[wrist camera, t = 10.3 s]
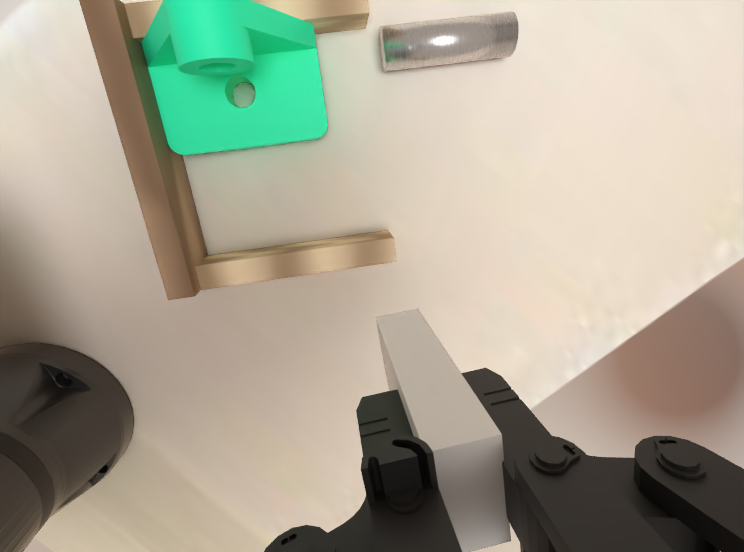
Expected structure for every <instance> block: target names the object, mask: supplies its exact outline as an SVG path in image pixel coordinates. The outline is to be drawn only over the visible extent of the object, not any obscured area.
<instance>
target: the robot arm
mask: <svg viewBox="0 0 744 552" xmlns="http://www.w3.org/2000/svg"><path fill="white" fill-rule="evenodd" d="M376 322H377V327H378V333H379V338H380V344H381V349H382V354H383V360H384V365H385V371H386V376H387V382H388V386H389V390H390V391H388V392H383V393H379V394H375V395H370V396H366V397H362V399H361V401H360V403H359V406H358V408H357V410H356V411H357V418H358V424H359V431H360V437H361V444H362V451H363V458H362V464H361V472H362V476H363V481H364V485H365V490H366V498H365V501H364V503H363V504H362V506H361V508H360V509H359V510H358V512H357V513H356V514H355V515H354V516H353V517H352V518H351V519H349V520H348V521H346V522H345V523H344V524H342V525H341V526H339V527H337V528H335V529H334V530H332V531H330V532H329V533H327V532H325V531H324V530H323V529H321V528H320V527H315V526H309V525H304V526H300V527H295V528H292V529H290V530H288V531H286V532H284V533H283V534H281V535H279V536H278V537H277V538H276V539H275V540H274V541H273V542H272V543H271V544H270V545H269V546H268V547H267V548H266V549H265V551H264V552H471V551H475V550H479V549H482V548H486V547H490V546H493V545H498V544H501V543H505V542H508V541H511V536H510V526H509V525H510V524H511V526H512V528H513V530H514V531H515V533H516V535H517V537H518V539H519V541H520V546H521V552H720V551H721V552H744V469H743V468H741V467H739V466H737V465H735V464H733V463H731V462H730V461H728V460H726V459H724V458H723V457H721V456H719V455H717V454H715V453H714V452H712V451H710V450H708V449H706V448H705V447H702V446H700V445H698V444H695V443H693V442H691V441H689V440H685V439H681V438H676V437H672V436H653V437H649V438H646V439H643V440H642V441H640V442H639V443H638V444H637V445H636V447H635V458H613V457H612V458H611V457H608V458H607V457H595V456H588V455H586V454H585V453H584V452H583V451H582V450H581V449H579V448H578V447H577V446H576V445H575V444H573V443H571V442H569V441H567V440H565V439H562V438H560V437H554V436H551V435H550V433H549V432H548V431H547V430H546V429H545V427H544V426H543V425H542V424H541V423H540V421H539V420H538V419H537V418H536V417H535V415H534V414H533V413H532V412H531V411H530V410H529V408H528V407H527V406H526V405H525V404H524V402H523V401H522V400H520V399H519V397H518V395H517V394H516V393H515V392H514V391H513V390H511V387H510V386H509V385H508V384H507V382H506V381H505V380H504V379H503V378H502V376H500V375H498V374H496V373H495V372H493V371H491V370H489V369H487V368H483V369H479V370H474V371H470V372H465V373H461V372H460V371H459V369H458V368H457V366H456V365H455V363H454V362H453V360H452V359H451V357H450V356H449V354H448V353H447V351H446V350H445V348H444V347H443V345H442V344H441V342H440V341H439V339H438V338H437V336H436V335H435V333H434V332H433V330H432V329H431V327H430V326H429V324H428V323H427V321H426V320H425V318H424V317H423V315H422V314H421V312H420V311H419V309H413V310H409V311H404V312H399V313H395V314H390V315H385V316H380V317H376ZM132 432H133V413H132V408H131V405H130V402H129V400H128V397H127V395H126V393H125V392H124V390H123V388H122V387H121V386H120V384H119V383H118V382H117V380H116V379H115V378H114V377H113V376H112V375H111V374H110V373H109V372H108V371H107V370H105V369H104V368H103V367H102V366H100V365H99V364H97V363H96V362H94V361H93V360H91V359H89V358H88V357H86V356H84V355H82V354H79V353H77V352H75V351H72V350H69V349H66V348H62V347H59V346H54V345H47V344H33V343H30V344H17V345H12V346H7V347H4V348H1V349H0V552H23V551H24V549H25V548H26V547H27V546H28V544H29V543H30V542H31V540H32V539H33V538H34V536H35V535H36V534H37V532H38V531H39V530H40V529H41V527H42V526H43V525H44V524H45V522H46V521H47V520H48V519H49V518H50V517H51V516H52V515H54V514H55V513H57V512H58V511H59V510H61V509H62V508H63V507H65V506H66V505H68V504H69V503H70V502H72V501H73V500H74V499H76V498H77V497H78V496H80V495H81V494H83V493H84V492H85V491H87V490H88V489H90V488H91V487H92V486H94V485H95V484H96V483H98V482H99V481H100V480H101V479H103V478H104V477H105V476H106V475H107V474H108V473H109V472H110V471H111V469H112V468H113V467H114V465H115V464H116V463H117V461H118V460H119V458H120V457H121V456H122V454H123V453H124V451H125V450H126V448H127V447H128V444H129V442H130V440H131V436H132ZM509 522H510V524H509Z"/></svg>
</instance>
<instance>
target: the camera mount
mask: <svg viewBox="0 0 744 552" xmlns="http://www.w3.org/2000/svg"><path fill="white" fill-rule="evenodd" d="M142 47H143V51H144V54H145V58H146V62H147V66H148V70H149V73H150V77H151V81H152V85H153V89H154V93H155V96H156V100H157V104H158V108H159V112H160V115H161V119H162V123H163V127H164V131H165V134H166V138H167V142H168V144H169V146H170V148H171V149H172V150H173V151H174V152H176V153H178V154H181V155H196V154H204V153H212V152H220V151H232V150H240V149H248V148H256V147H264V146H272V145H280V144H285V143H291V142H299V141H307V140H315V139H319V138H321V137H323V136H324V135H325V133H326V131H327V128H328V123H327V116H326V109H325V102H324V95H323V88H322V82H321V75H320V68H319V61H318V54H317V47H316V41H315V34H314V27H313V24H311V23H309V22H306V21H303V20H301V19H298V18H296V17H293V16H290V15H288V14H285V13H283V12H280V11H278V10H275V9H272V8H270V7H267V6H265V5H262V4H259V3H257V2H254V1H252V0H163V2H162V3H161V5H160V7H159V9H158V11H157V13H156V15H155V17H154V19H153V21H152V23H151V25H150V27H149V29H148V31H147V33H146V35H145V37H144V39H143V41H142ZM242 82H249V83H252V84H253V85H254V88H255V92H256V95H255V99H254V102H253V103H252V104H251V105H250V106H249V107H246V108H238V107H237V106H236V104H235V102H234V100H233V91H234V89H235V87H236V86H237V85H238V84H240V83H242Z"/></svg>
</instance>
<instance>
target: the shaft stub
mask: <svg viewBox="0 0 744 552" xmlns="http://www.w3.org/2000/svg"><path fill="white" fill-rule="evenodd" d="M517 40H518V20H517V17H516V14H515V13H514V12H504V13H495V14H486V15H477V16H469V17H460V18H451V19H442V20H433V21H424V22H415V23H406V24H397V25H388V26H381V27H380V51H381V61H382V67H383V70H384V71H393V70H401V69H410V68H418V67H427V66H435V65H444V64H452V63H460V62H469V61H477V60H486V59H494V58H503V57H510V56H511V55H512V54H513V52H514V50H515V48H516V44H517Z"/></svg>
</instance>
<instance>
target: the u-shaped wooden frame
mask: <svg viewBox="0 0 744 552" xmlns="http://www.w3.org/2000/svg"><path fill="white" fill-rule="evenodd" d="M79 1H80V5H81V8H82V11H83V15H84V18H85V21H86V25H87V28H88V32H89V35H90V38H91V42H92V45H93V48H94V52H95V55H96V58H97V62H98V65H99V69H100V72H101V75H102V79H103V82H104V85H105V89H106V92H107V95H108V99H109V102H110V106H111V109H112V112H113V116H114V119H115V122H116V126H117V129H118V133H119V136H120V139H121V143H122V146H123V149H124V153H125V156H126V159H127V163H128V166H129V170H130V173H131V176H132V180H133V183H134V186H135V190H136V193H137V196H138V200H139V203H140V207H141V210H142V213H143V217H144V220H145V223H146V227H147V230H148V233H149V237H150V240H151V244H152V247H153V250H154V254H155V257H156V260H157V264H158V267H159V271H160V274H161V277H162V281H163V284H164V287H165V291H166V294H167V297H168V300H172V299H179V298H186V297H193V296H195V295H196V294H197V293H198V292H199V291H200V290H204V289H211V288H218V287H225V286H232V285H239V284H245V283H252V282H259V281H266V280H273V279H280V278H287V277H294V276H300V275H307V274H314V273H321V272H328V271H335V270H342V269H348V268H355V267H362V266H369V265H376V264H383V263H390V262H396V252H395V243H394V237H393V236H392V235H391V233H390V232H389V231H388V230H387V231H380V232H373V233H366V234H359V235H352V236H345V237H338V238H331V239H323V240H316V241H309V242H302V243H295V244H288V245H281V246H274V247H267V248H260V249H253V250H245V251H238V252H231V253H224V254H217V255H210V256H208V254H207V250H206V246H205V242H204V239H203V235H202V231H201V227H200V223H199V219H198V215H197V211H196V207H195V203H194V199H193V196H192V192H191V188H190V184H189V180H188V176H187V172H186V168H185V164H184V160H183V156H182V155H181V154H178V153H176V152H174V151H173V150H172V149H171V148H170V146H169V144H168V142H167V138H166V134H165V131H164V127H163V123H162V119H161V115H160V112H159V108H158V104H157V100H156V96H155V93H154V89H153V85H152V81H151V77H150V73H149V70H148V66H147V62H146V58H145V54H144V51H143V47H142V41H143V39H144V37H145V35H146V33H147V31H148V29H149V27H150V25H151V23H152V21H153V19H154V17H155V15H156V13H157V11H158V9H159V7H160V5H161V3H162V2H163V0H156V1H147V2H137V3H127V4H124V3H122V2H121V1H120V0H79ZM252 1H254V2H257V3H259V4H262V5H265V6H267V7H270V8H272V9H275V10H278V11H280V12H283V13H285V14H288V15H290V16H293V17H296V18H298V19H301V20H303V21H306V22H309V23H311V24H313V27H314V34H319V33H328V32H337V31H346V30H355V29H364V28H366V24H367V20H368V16H369V4H368V0H252Z"/></svg>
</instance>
